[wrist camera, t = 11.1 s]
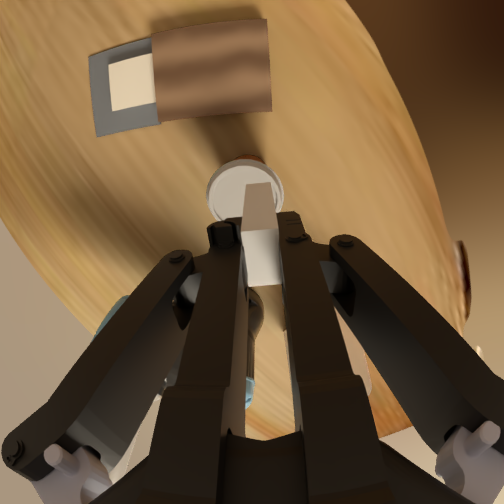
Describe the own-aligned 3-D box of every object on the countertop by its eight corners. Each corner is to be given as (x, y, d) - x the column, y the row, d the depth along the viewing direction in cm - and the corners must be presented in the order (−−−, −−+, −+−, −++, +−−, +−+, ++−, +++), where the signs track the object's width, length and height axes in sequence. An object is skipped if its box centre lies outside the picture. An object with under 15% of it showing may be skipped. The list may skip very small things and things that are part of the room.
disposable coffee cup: (287, 187, 45) (296, 217, 34) (234, 210, 47) (227, 247, 37) (262, 134, 40) (263, 147, 30) (207, 161, 43) (190, 183, 32)
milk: (319, 349, 65) (335, 446, 42) (283, 331, 61) (290, 439, 39) (356, 319, 59) (387, 421, 37) (320, 297, 56) (346, 411, 34)
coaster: (163, 101, 37) (158, 101, 35) (117, 110, 37) (112, 111, 36) (159, 53, 33) (155, 52, 31) (114, 65, 33) (108, 64, 31)
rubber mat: (161, 124, 39) (160, 124, 39) (97, 137, 40) (96, 137, 39) (154, 37, 32) (153, 36, 31) (89, 57, 32) (88, 57, 32)
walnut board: (270, 110, 38) (272, 111, 35) (166, 120, 39) (158, 122, 36) (266, 25, 31) (266, 18, 28) (160, 38, 32) (151, 34, 28)
